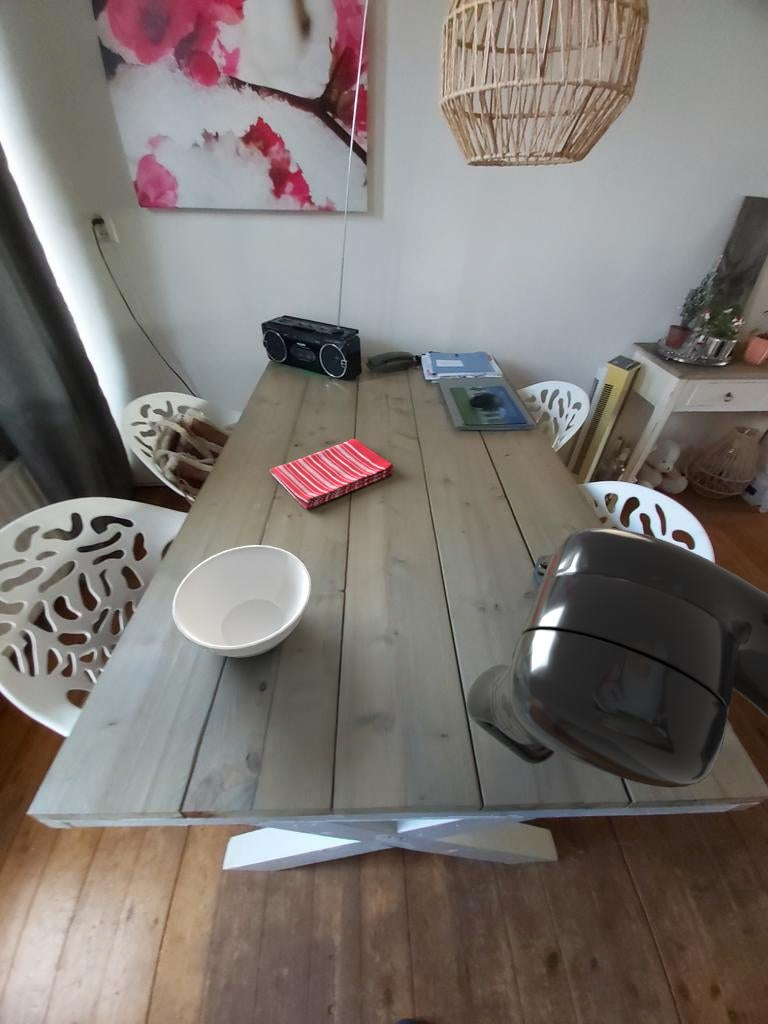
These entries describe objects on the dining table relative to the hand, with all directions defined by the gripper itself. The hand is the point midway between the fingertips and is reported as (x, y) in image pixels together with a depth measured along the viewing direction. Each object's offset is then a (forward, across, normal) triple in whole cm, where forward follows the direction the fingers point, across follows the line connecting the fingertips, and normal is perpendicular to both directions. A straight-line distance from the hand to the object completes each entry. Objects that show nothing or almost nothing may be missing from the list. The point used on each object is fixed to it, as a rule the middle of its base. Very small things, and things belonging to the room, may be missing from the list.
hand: (601, 551), depth 71 cm
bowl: (-40, +39, +10) cm, 57 cm away
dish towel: (-1, +57, +9) cm, 58 cm away
